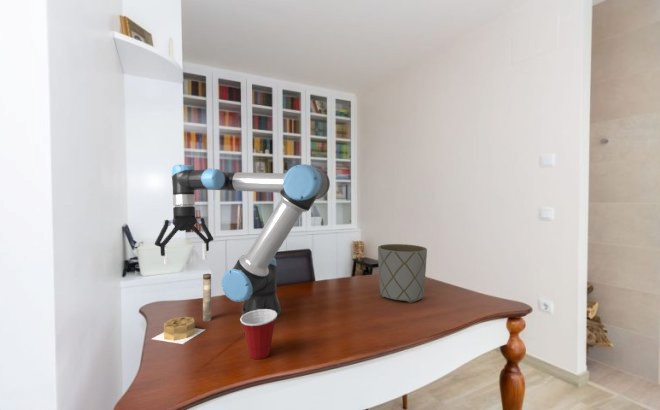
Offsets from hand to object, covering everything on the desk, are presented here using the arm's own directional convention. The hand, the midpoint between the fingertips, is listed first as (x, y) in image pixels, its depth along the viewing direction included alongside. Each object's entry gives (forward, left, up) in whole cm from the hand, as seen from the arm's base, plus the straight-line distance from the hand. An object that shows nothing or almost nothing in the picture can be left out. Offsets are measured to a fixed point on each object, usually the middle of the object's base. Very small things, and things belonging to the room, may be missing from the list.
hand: (185, 262), depth 119 cm
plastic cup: (-39, +16, -22) cm, 48 cm away
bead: (-8, +13, -21) cm, 26 cm away
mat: (-8, +13, -22) cm, 27 cm away
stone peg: (-9, 0, -22) cm, 24 cm away
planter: (-77, -54, -22) cm, 97 cm away
